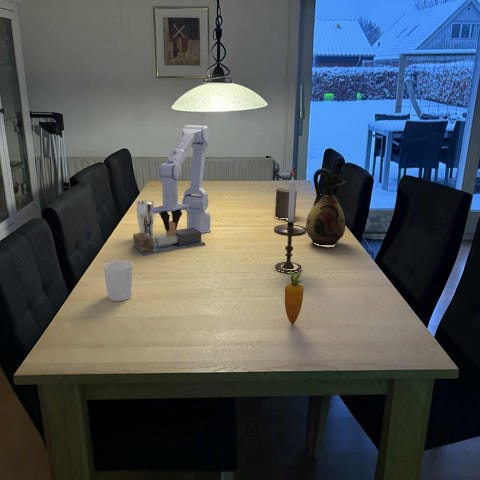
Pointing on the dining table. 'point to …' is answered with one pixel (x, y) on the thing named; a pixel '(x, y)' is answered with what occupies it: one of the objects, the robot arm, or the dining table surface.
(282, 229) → the candlestick
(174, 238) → the grey slider with handle
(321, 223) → the ceramic jug
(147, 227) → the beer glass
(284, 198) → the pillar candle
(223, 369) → the dining table surface
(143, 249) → the socket block
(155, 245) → the outer sleeve
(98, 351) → the dining table surface
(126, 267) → the white cup
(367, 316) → the dining table surface
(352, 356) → the dining table surface
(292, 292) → the carrot
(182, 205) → the robot arm
